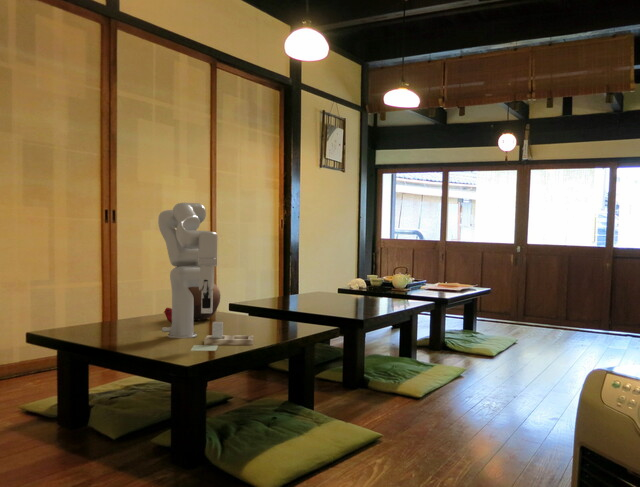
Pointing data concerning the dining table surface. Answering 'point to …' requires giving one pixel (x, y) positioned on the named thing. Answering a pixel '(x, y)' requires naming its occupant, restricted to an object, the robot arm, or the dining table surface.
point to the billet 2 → (217, 330)
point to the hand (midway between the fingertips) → (207, 306)
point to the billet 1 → (210, 310)
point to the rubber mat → (204, 348)
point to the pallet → (230, 340)
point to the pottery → (197, 302)
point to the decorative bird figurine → (168, 314)
